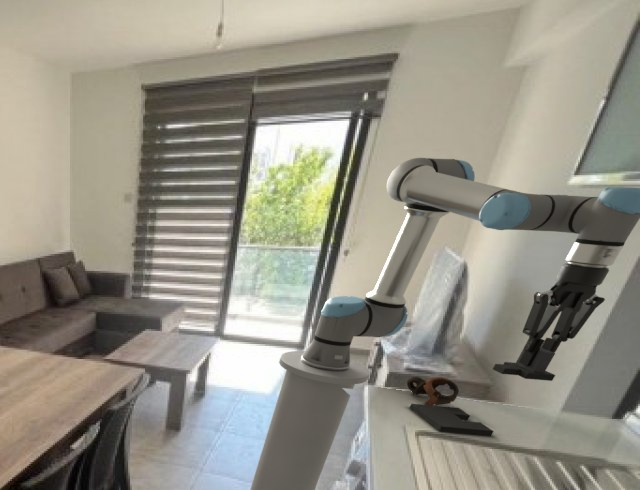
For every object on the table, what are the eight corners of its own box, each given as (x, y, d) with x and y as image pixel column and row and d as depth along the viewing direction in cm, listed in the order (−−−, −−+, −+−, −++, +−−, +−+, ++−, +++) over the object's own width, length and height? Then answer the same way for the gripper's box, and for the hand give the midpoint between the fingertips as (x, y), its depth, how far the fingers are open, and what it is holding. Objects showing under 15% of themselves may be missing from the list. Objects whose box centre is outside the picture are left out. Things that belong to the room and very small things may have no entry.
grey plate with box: (486, 366, 123) (498, 341, 120) (527, 369, 122) (540, 344, 119) (508, 377, 116) (522, 351, 113) (552, 380, 115) (567, 355, 112)
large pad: (409, 408, 132) (411, 403, 131) (456, 412, 131) (458, 407, 130) (439, 431, 120) (441, 426, 119) (491, 436, 119) (494, 431, 118)
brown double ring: (447, 401, 139) (467, 383, 132) (436, 422, 136) (455, 406, 129) (404, 381, 144) (421, 363, 136) (392, 401, 140) (408, 384, 133)
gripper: (563, 265, 104) (508, 367, 115) (641, 269, 103) (578, 372, 114) (536, 260, 111) (486, 357, 122) (609, 264, 109) (553, 362, 120)
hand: (531, 364), depth 118 cm, fingers closed on grey plate with box, 2 cm apart
